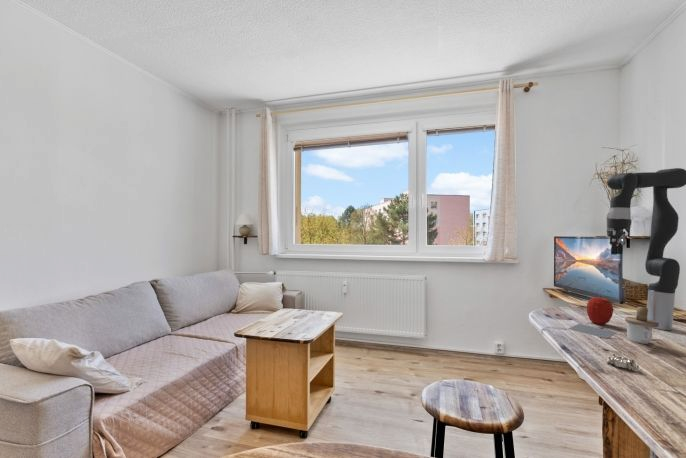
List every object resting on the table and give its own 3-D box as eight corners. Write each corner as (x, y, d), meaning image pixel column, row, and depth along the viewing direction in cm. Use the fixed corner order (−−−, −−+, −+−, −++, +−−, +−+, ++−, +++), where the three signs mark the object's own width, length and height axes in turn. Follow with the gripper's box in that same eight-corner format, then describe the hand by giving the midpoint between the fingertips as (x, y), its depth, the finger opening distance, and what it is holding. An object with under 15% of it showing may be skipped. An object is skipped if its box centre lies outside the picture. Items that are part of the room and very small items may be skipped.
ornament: (641, 369, 108) (642, 358, 108) (635, 374, 104) (636, 363, 104) (610, 360, 114) (611, 350, 114) (603, 364, 110) (604, 353, 110)
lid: (628, 318, 141) (629, 303, 141) (660, 324, 134) (661, 309, 133) (622, 321, 135) (623, 306, 135) (656, 328, 127) (657, 312, 127)
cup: (661, 349, 128) (663, 328, 128) (637, 346, 130) (639, 326, 129) (642, 340, 138) (644, 320, 138) (620, 337, 140) (622, 318, 140)
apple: (612, 329, 152) (615, 298, 152) (585, 324, 158) (587, 294, 158) (611, 324, 161) (613, 295, 160) (585, 319, 167) (587, 291, 166)
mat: (578, 324, 157) (579, 323, 157) (616, 333, 146) (616, 332, 146) (567, 329, 147) (567, 328, 147) (607, 339, 136) (607, 338, 136)
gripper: (613, 218, 157) (610, 253, 158) (604, 217, 148) (601, 253, 149) (633, 219, 151) (631, 254, 152) (626, 217, 142) (623, 255, 143)
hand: (616, 254), depth 150 cm, fingers open, 8 cm apart
